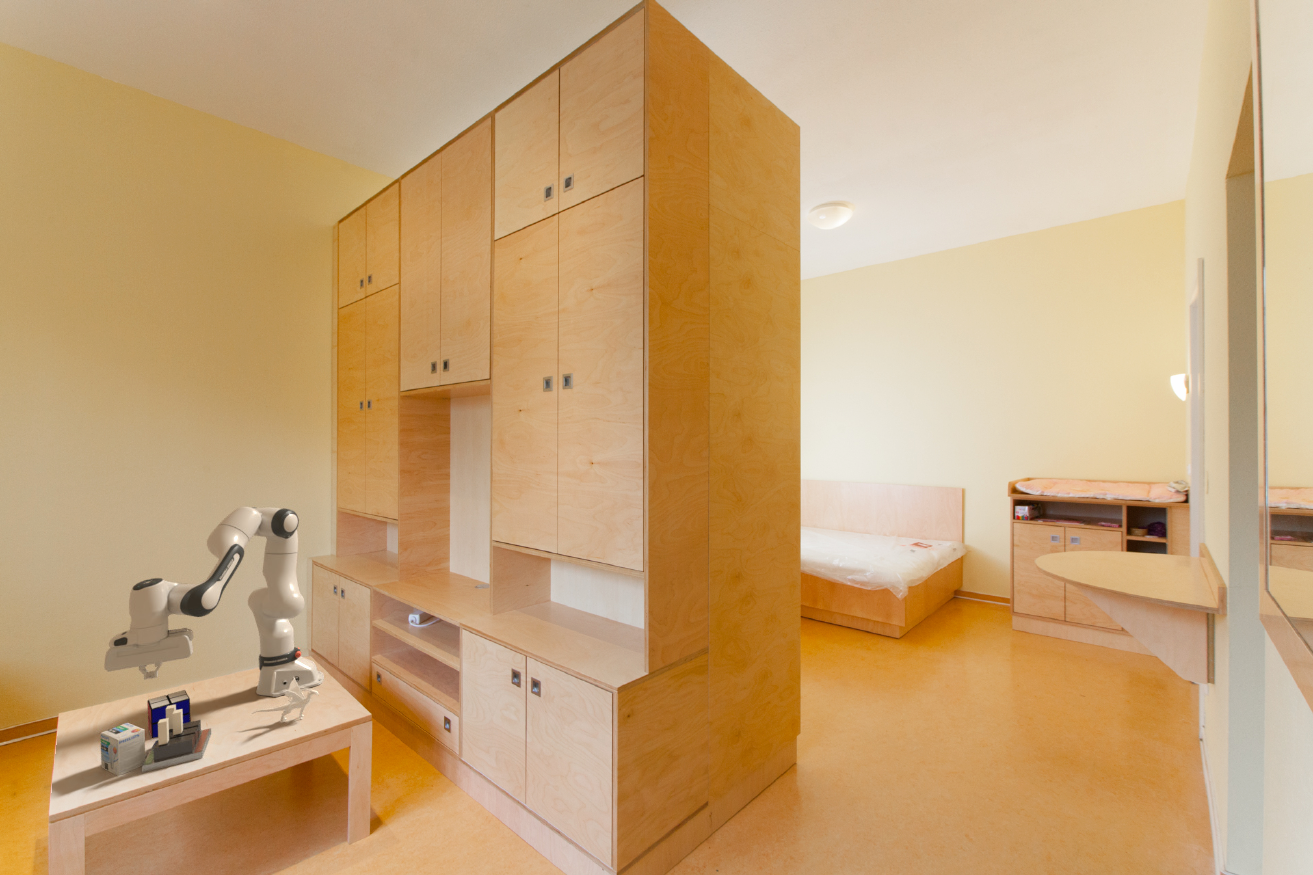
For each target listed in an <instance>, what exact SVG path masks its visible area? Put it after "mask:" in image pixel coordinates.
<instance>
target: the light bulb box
mask: <svg viewBox="0 0 1313 875" xmlns="http://www.w3.org/2000/svg"><path fill="white" fill-rule="evenodd" d="M145 733H146V732H145V728H142V727H139V726H137V725H134V724H131V723H129V722H124V723H123V724H121V725H118V726H115V727H112V728H110V729H107V730H104V731H101V732H100V767H101V768H102V769H104V770H106V772H110V773H111V774H114V775H115V776H117V777H120V776H122V775H124V774H127V773H129V772H131V771H133V770H136V769H138V768H142V765H143V763H144V762H145V760H146V744H145V743H146V742H145V741H146V739H145V735H146V734H145Z"/></svg>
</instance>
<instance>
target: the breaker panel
mask: <svg viewBox="0 0 1313 875" xmlns="http://www.w3.org/2000/svg"><path fill="white" fill-rule="evenodd" d="M201 723H202V722H201V719H198V720H194V721H191V722H188V723H183V731H182V733H181V734H176V735H173V729H170V730H169V741H168V743H166V744H162V745H159V743H158V739H157V740H155V741H154V743H153V745H152V747H151V749H150V750H149V752H148V754H147V756H146V757H145V762H144V763H143V765H142V766H141V773H142V774H143V773H146V772H147V773H148V772H151V771H155V770H160V769H164V768H168V767H172V766H175V765H180V764H184V763H189V762H191V761H195V760H196V761H197V760H200V759H203V757H204V754H205V752H206V750H207V747H208V744H209V741H210V738H211V736H212V728H211V727H210V728H206V729H202V726H201Z"/></svg>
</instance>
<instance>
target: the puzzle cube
mask: <svg viewBox="0 0 1313 875" xmlns="http://www.w3.org/2000/svg"><path fill="white" fill-rule="evenodd" d="M175 704H176V710H179V709H182V712H183V723H188V722H192V721H191V720H192V719H191V699H190V696H189V695H188V693H187V691H186V690H185V689H182V690H179V691H175V692H171V693H168V694H164V695H161V696H158V697H153V698H150V699H148V700H147V728H148V732H149V735H150V737H151V739H156V738H158V722H159V720H161V719H166V708H167V706H170V705H175Z"/></svg>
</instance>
